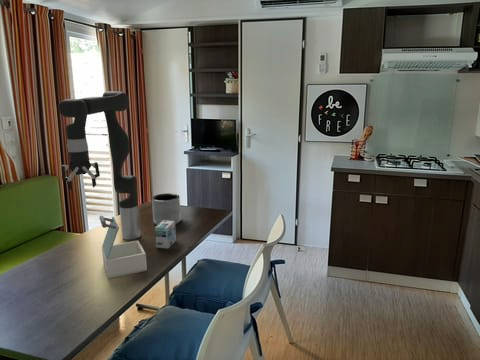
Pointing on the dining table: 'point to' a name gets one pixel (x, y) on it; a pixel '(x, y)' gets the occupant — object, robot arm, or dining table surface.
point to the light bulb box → (165, 234)
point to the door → (109, 234)
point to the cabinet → (125, 259)
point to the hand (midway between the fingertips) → (82, 188)
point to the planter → (166, 208)
